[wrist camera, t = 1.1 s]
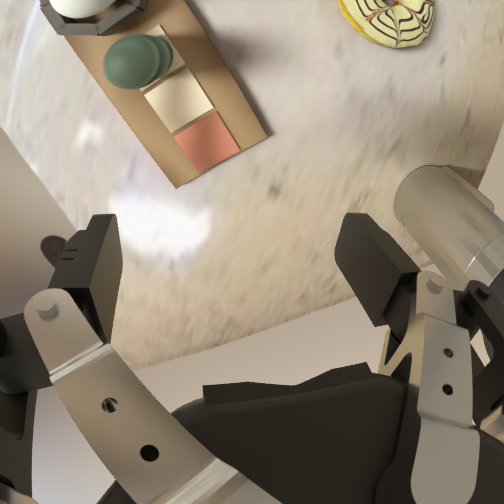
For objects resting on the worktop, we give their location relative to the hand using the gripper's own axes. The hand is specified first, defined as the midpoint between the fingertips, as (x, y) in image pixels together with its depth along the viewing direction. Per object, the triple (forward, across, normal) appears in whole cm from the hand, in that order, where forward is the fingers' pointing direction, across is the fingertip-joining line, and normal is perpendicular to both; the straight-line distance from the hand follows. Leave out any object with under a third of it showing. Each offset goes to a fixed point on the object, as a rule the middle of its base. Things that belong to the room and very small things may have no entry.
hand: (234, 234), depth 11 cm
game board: (+20, +5, -6) cm, 21 cm away
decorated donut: (+19, -15, -15) cm, 29 cm away
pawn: (+19, +5, -6) cm, 20 cm away
